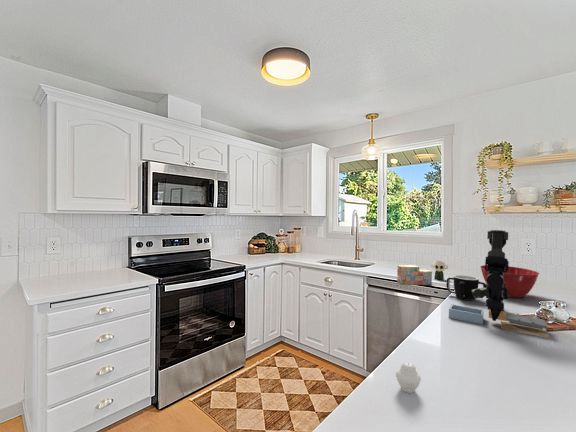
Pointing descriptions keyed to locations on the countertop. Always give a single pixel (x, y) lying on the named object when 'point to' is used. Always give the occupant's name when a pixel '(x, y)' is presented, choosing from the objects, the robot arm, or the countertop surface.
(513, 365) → the countertop surface
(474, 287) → the mug
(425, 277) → the stack of blocks
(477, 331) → the countertop surface
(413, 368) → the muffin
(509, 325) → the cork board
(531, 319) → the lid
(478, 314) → the tub
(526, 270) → the mixing bowl
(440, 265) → the big eared figurine
